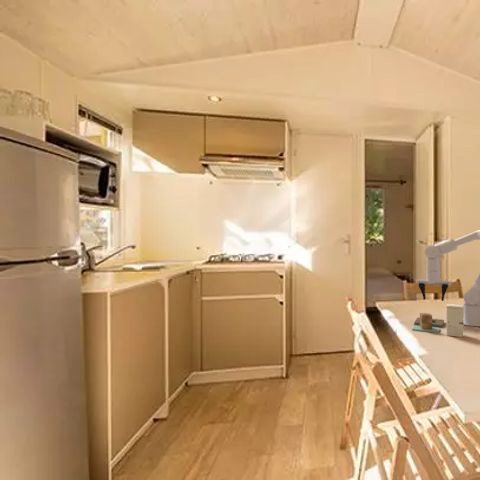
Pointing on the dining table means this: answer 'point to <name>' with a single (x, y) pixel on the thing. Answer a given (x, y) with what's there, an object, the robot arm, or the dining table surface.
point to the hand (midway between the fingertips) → (433, 299)
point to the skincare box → (455, 320)
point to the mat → (434, 329)
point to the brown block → (426, 321)
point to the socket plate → (435, 322)
